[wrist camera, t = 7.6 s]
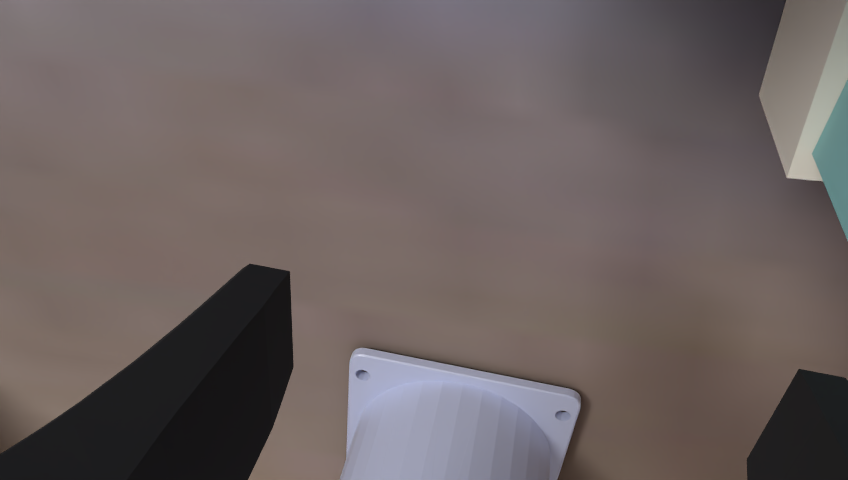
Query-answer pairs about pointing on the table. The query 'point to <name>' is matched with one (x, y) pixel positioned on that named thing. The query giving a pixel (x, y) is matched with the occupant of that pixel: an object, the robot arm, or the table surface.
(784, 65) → the cream block
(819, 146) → the teal cube
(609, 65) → the table surface
